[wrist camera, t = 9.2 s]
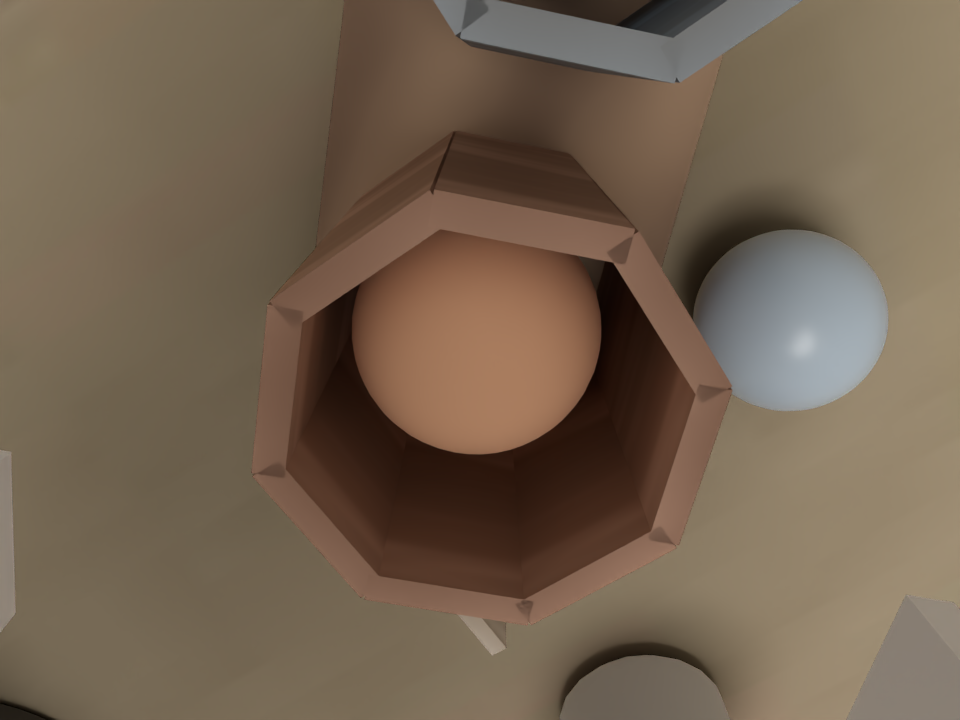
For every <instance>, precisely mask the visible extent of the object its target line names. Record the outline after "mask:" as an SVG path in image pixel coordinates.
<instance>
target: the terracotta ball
mask: <svg viewBox="0 0 960 720" xmlns="http://www.w3.org/2000/svg"><path fill="white" fill-rule="evenodd" d="M352 343H353V350H354V355H355V360H356V364H357V367H358V370H359V373H360V376H361V378H362V380H363V382H364V384H365V386H366V388H367V390H368V392H369V394H370V396H371V397H372V398H373V400H374V401H375V402H376V404H377V405H378V406H379V408H380V409H381V410H382V412H383V413H384V414H385V415H386V416H387V417H388V418H389V419H390V420H391V421H392V422H393V423H394V424H396V425H397V426H398V427H400V428H401V429H402V430H404V431H405V432H406V433H408V434H409V435H410V436H412V437H414V438H416V439H418V440H420V441H421V442H423V443H426V444H429V445H431V446H434V447H436V448H439V449H443V450H447V451H451V452H455V453H463V454H490V453H498V452H503V451H507V450H511V449H514V448H517V447H520V446H523V445H525V444H527V443H529V442H531V441H533V440H535V439H537V438H539V437H541V436H542V435H544V434H545V433H547V432H548V431H550V430H551V429H553V428H554V427H555V426H556V425H557V424H559V423H560V422H561V421H562V420H563V419H564V418H565V417H566V416H567V415H568V414H569V412H570V411H571V410H572V409H573V408H574V407H575V406H576V404H577V403H578V401H579V400H580V398H581V397H582V395H583V394H584V392H585V390H586V388H587V386H588V384H589V382H590V380H591V378H592V375H593V373H594V371H595V367H596V364H597V360H598V356H599V351H600V344H601V313H600V308H599V303H598V299H597V295H596V291H595V288H594V286H593V283H592V281H591V279H590V276H589V274H588V272H587V270H586V268H585V266H584V265H583V263H582V262H581V260H580V259H579V257H578V256H577V255H572V254H566V253H561V252H556V251H551V250H546V249H541V248H535V247H530V246H525V245H520V244H515V243H510V242H504V241H499V240H494V239H489V238H484V237H479V236H473V235H468V234H463V233H458V232H453V231H448V230H442V229H440V230H438V231H437V232H435V233H434V234H432V235H431V236H429V237H428V238H426V239H425V240H423V241H422V242H421V243H419V244H418V245H416V246H415V247H413V248H412V249H410V250H409V251H407V252H406V253H404V254H403V255H401V256H400V257H398V258H397V259H395V260H394V261H392V262H391V263H390V264H388V265H387V266H385V267H384V268H382V269H381V270H379V271H378V272H376V273H375V274H373V275H372V276H370V277H369V278H367V279H366V280H364V281H363V282H361V283H360V286H359V288H358V291H357V294H356V299H355V304H354V309H353V314H352Z"/></svg>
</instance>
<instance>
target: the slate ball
mask: <svg viewBox="0 0 960 720" xmlns="http://www.w3.org/2000/svg"><path fill="white" fill-rule="evenodd" d="M693 322H694V323H695V325H696V327H697V328H698V330H699V332H700V333H701V335H702V337H703V338H704V340H705V342H706V343H707V345H708V347H709V348H710V350H711V352H712V353H713V355H714V356H715V358H716V360H717V361H718V363H719V365H720V366H721V368H722V370H723V371H724V373H725V375H726V376H727V378H728V380H729V381H730V383H731V385H732V387H731V389H732V390H733V391H732V394H733V395H734V396H736V397H738V398H740V399H741V400H743V401H745V402H747V403H750V404H752V405H755V406H758V407H762V408H766V409H770V410H777V411H800V410H808V409H812V408H816V407H820V406H823V405H825V404H828V403H830V402H832V401H835V400H837V399H839V398H840V397H842V396H844V395H845V394H847V393H848V392H850V391H851V390H852V389H854V388H855V387H856V386H857V385H858V384H859V383H860V382H861V381H862V380H863V379H864V378H865V377H866V376H867V375H868V374H869V372H870V371H871V370H872V368H873V367H874V365H875V364H876V362H877V360H878V358H879V356H880V354H881V352H882V350H883V347H884V344H885V341H886V336H887V331H888V305H887V301H886V297H885V293H884V291H883V288H882V286H881V283H880V281H879V279H878V277H877V275H876V274H875V272H874V271H873V269H872V268H871V267H870V265H869V264H868V263H867V262H866V261H865V260H864V258H863V257H862V256H860V255H859V254H858V253H857V252H856V251H855V250H853V249H852V248H850V247H849V246H847V245H846V244H844V243H843V242H841V241H839V240H837V239H835V238H832V237H830V236H827V235H824V234H821V233H817V232H814V231H807V230H778V231H771V232H768V233H764V234H760V235H758V236H755V237H753V238H750V239H747V240H746V241H744V242H742V243H740V244H738V245H737V246H735V247H734V248H732V249H731V250H729V251H728V252H727V253H726V254H725V255H723V256H722V257H721V258H720V259H719V260H718V261H717V262H716V263H715V265H714V266H713V267H712V268H711V270H710V271H709V272H708V274H707V275H706V277H705V279H704V281H703V282H702V284H701V286H700V289H699V292H698V294H697V297H696V301H695V305H694V311H693Z"/></svg>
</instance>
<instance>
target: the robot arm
mask: <svg viewBox="0 0 960 720" xmlns="http://www.w3.org/2000/svg"><path fill="white" fill-rule="evenodd" d="M15 614H16V611H15V574H14V537H13V500H12V464H11V452H10V451H4V450H0V632H1V631H2V630H3V628H4V627H5V626H6V625H7V624H8V622H9V621H10V620H11V619H12V618H13V616H14V615H15ZM0 720H45V719H43V718H41V717H39V716H36V715H34V714H31V713H29V712H26V711H23V710H20V709H17V708H13V707H10V706H6V705H3V704H0ZM846 720H960V609H959V608H958V606H957V605H956V604H955V603H954V602H949V601H943V600H936V599H930V598H924V597H918V596H911V595H906V596H905V598H904V600H903V602H902V604H901V606H900V608H899V610H898V612H897V614H896V617H895V619H894V621H893V623H892V625H891V627H890V629H889V631H888V633H887V635H886V637H885V640H884V642H883V644H882V646H881V648H880V650H879V652H878V654H877V656H876V658H875V660H874V663H873V665H872V667H871V669H870V671H869V673H868V675H867V677H866V679H865V681H864V683H863V686H862V688H861V690H860V692H859V694H858V696H857V698H856V700H855V702H854V704H853V706H852V709H851V711H850V713H849V715H848V717H847V719H846Z"/></svg>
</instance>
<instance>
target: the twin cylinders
mask: <svg viewBox="0 0 960 720" xmlns="http://www.w3.org/2000/svg"><path fill="white" fill-rule="evenodd" d="M801 1H802V0H345V1H344V10H343V18H342V27H341V35H340V44H339V52H338V61H337V69H336V78H335V86H334V95H333V103H332V112H331V120H330V129H329V137H328V146H327V154H326V163H325V171H324V180H323V188H322V197H321V205H320V214H319V222H318V231H317V239H316V248H315V250H314V251H313V252H312V253H311V254H310V255H309V256H308V258H307V259H306V260H305V261H304V262H303V263H302V264H301V266H300V267H299V268H298V269H297V270H296V271H295V272H294V274H293V275H292V276H291V277H290V278H289V279H288V280H287V281H286V283H285V284H284V285H283V286H282V287H281V288H280V289H279V291H278V292H277V293H276V294H275V295H274V296H273V297H272V299H271V300H270V303H269V304H268V306H267V316H266V326H265V337H264V347H263V357H262V368H261V378H260V388H259V399H258V409H257V419H256V430H255V440H254V450H253V461H252V471H251V473H254V474H253V476H252V477H253V478H254V479H255V480H256V481H257V482H258V483H259V485H260V486H261V487H262V488H263V489H264V490H265V491H266V492H267V493H268V495H269V496H270V497H271V498H272V499H273V500H274V501H275V502H276V504H277V505H278V506H279V507H280V508H281V509H282V510H283V511H284V513H285V514H286V515H287V516H288V517H289V518H290V519H291V520H292V521H293V523H294V524H295V525H296V526H297V527H298V528H299V529H300V530H301V532H302V533H303V534H304V535H305V536H306V537H307V538H308V539H309V540H310V542H311V543H312V544H313V545H314V546H315V547H316V548H317V549H318V551H319V552H320V553H321V554H322V555H323V556H324V557H325V558H326V559H327V561H328V562H329V563H330V564H331V565H332V566H333V567H334V568H335V570H336V571H337V572H338V573H339V574H340V575H341V576H342V577H343V578H344V580H345V581H346V582H347V583H348V584H349V585H350V586H351V587H352V589H353V590H354V591H355V592H356V593H357V594H358V595H359V596H360V598H361V597H363V596H365V598H364V599H365V600H371V601H377V602H383V603H390V604H396V605H402V606H408V607H415V608H421V609H427V610H433V611H440V612H446V613H452V614H457V615H458V616H459V617H460V618H461V619H462V620H463V622H464V623H465V624H466V625H467V626H468V628H469V629H470V630H471V631H472V632H473V633H474V635H475V636H476V637H477V638H478V639H479V641H480V642H481V643H482V644H483V645H484V646H485V648H486V649H487V650H488V651H489V652H490V654H491V655H494V654H496V653H498V652H500V651H502V650H504V649H506V623H505V622H508V623H515V624H521V625H528V622H529V623H530V624H531V625H532V624H534V623H536V622H538V621H540V620H542V619H544V618H546V617H548V616H549V615H551V614H553V613H555V612H557V611H559V610H561V609H563V608H565V607H567V606H568V605H570V604H572V603H574V602H576V601H578V600H580V599H582V598H584V597H585V596H587V595H589V594H591V593H593V592H595V591H597V590H599V589H601V588H602V587H604V586H606V585H608V584H610V583H612V582H614V581H616V580H618V579H619V578H621V577H623V576H625V575H627V574H629V573H631V572H633V571H635V570H637V569H638V568H640V567H642V566H644V565H646V564H648V563H650V562H652V561H654V560H655V559H657V558H659V557H661V556H663V555H665V554H667V553H669V552H671V551H672V550H674V549H676V545H679V544H680V541H681V538H682V535H683V532H684V529H685V526H686V524H687V521H688V518H689V515H690V512H691V509H692V506H693V503H694V500H695V498H696V495H697V492H698V489H699V486H700V483H701V480H702V477H703V474H704V472H705V469H706V466H707V463H708V460H709V457H710V454H711V451H712V448H713V446H714V443H715V440H716V437H717V434H718V431H719V428H720V425H721V422H722V420H723V417H724V414H725V411H726V408H727V405H728V402H729V399H730V396H731V394H732V391H733V390H732V389H731V387H732V385H731V383H730V381H729V380H728V378H727V376H726V375H725V373H724V371H723V370H722V368H721V366H720V365H719V363H718V361H717V360H716V358H715V356H714V355H713V353H712V352H711V350H710V348H709V347H708V345H707V343H706V342H705V340H704V338H703V337H702V335H701V333H700V332H699V330H698V328H697V327H696V325H695V323H694V322H693V320H692V318H691V317H690V315H689V313H688V312H687V310H686V308H685V307H684V305H683V303H682V302H681V300H680V298H679V297H678V295H677V293H676V292H675V290H674V288H673V287H672V285H671V283H670V282H669V280H668V279H667V277H666V275H665V274H664V272H663V270H662V269H661V268H662V265H663V261H664V258H665V254H666V251H667V247H668V244H669V240H670V237H671V234H672V230H673V227H674V223H675V220H676V216H677V213H678V209H679V206H680V202H681V199H682V196H683V192H684V189H685V185H686V182H687V178H688V175H689V171H690V168H691V165H692V161H693V158H694V154H695V151H696V147H697V144H698V140H699V137H700V133H701V130H702V127H703V123H704V120H705V116H706V113H707V109H708V106H709V102H710V99H711V96H712V92H713V89H714V85H715V82H716V78H717V75H718V71H719V68H720V64H721V61H722V58H723V54H724V53H725V52H726V51H728V50H729V49H731V48H732V47H734V46H735V45H737V44H738V43H740V42H741V41H743V40H744V39H746V38H747V37H749V36H750V35H752V34H753V33H755V32H756V31H758V30H759V29H761V28H762V27H764V26H765V25H767V24H768V23H769V22H771V21H772V20H774V19H775V18H777V17H778V16H780V15H781V14H783V13H784V12H786V11H787V10H789V9H790V8H792V7H793V6H795V5H796V4H798V3H799V2H801ZM440 229H442V230H448V231H453V232H458V233H463V234H468V235H473V236H479V237H484V238H489V239H494V240H499V241H504V242H510V243H515V244H520V245H525V246H530V247H535V248H541V249H546V250H551V251H556V252H561V253H566V254H572V255H577V256H578V257H579V259H580V260H581V262H582V263H583V265H584V266H585V268H586V270H587V272H588V274H589V276H590V279H591V281H592V283H593V286H594V288H595V291H596V295H597V299H598V303H599V308H600V313H601V344H600V351H599V356H598V360H597V364H596V367H595V371H594V373H593V375H592V378H591V380H590V382H589V384H588V386H587V388H586V390H585V392H584V394H583V395H582V397H581V398H580V400H579V401H578V403H577V404H576V406H575V407H574V408H573V409H572V410H571V411H570V412H569V414H568V415H567V416H566V417H565V418H564V419H563V420H562V421H561V422H560V423H559V424H557V425H556V426H555V427H554V428H553V429H551V430H550V431H548V432H547V433H545V434H544V435H542V436H541V437H539V438H537V439H535V440H533V441H531V442H529V443H527V444H525V445H523V446H520V447H517V448H514V449H511V450H507V451H503V452H498V453H490V454H463V453H455V452H451V451H447V450H443V449H439V448H436V447H434V446H431V445H429V444H426V443H423V442H421V441H420V440H418V439H416V438H414V437H412V436H410V435H409V434H408V433H406V432H405V431H404V430H402V429H401V428H400V427H398V426H397V425H396V424H394V423H393V422H392V421H391V420H390V419H389V418H388V417H387V416H386V415H385V414H384V413H383V412H382V410H381V409H380V408H379V406H378V405H377V404H376V402H375V401H374V400H373V398H372V397H371V396H370V394H369V392H368V390H367V388H366V386H365V384H364V382H363V380H362V378H361V376H360V373H359V370H358V367H357V364H356V360H355V355H354V350H353V343H352V314H353V309H354V304H355V299H356V294H357V291H358V288H359V286H360V283H361V282H363V281H364V280H366V279H367V278H369V277H370V276H372V275H373V274H375V273H376V272H378V271H379V270H381V269H382V268H384V267H385V266H387V265H388V264H390V263H391V262H392V261H394V260H395V259H397V258H398V257H400V256H401V255H403V254H404V253H406V252H407V251H409V250H410V249H412V248H413V247H415V246H416V245H418V244H419V243H421V242H422V241H423V240H425V239H426V238H428V237H429V236H431V235H432V234H434V233H435V232H437V231H438V230H440Z"/></svg>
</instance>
